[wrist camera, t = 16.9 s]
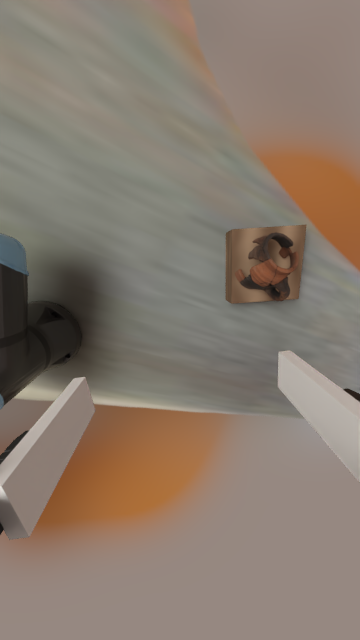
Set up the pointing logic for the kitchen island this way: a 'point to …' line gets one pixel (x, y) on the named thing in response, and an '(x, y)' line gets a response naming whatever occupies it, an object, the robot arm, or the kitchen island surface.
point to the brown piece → (270, 267)
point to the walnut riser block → (238, 259)
